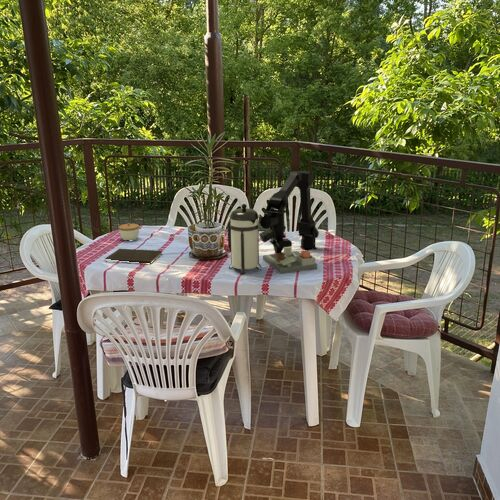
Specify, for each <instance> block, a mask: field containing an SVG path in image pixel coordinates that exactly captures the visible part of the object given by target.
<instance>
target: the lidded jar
mask: <svg viewBox="0 0 500 500" xmlns="http://www.w3.org/2000/svg"><path fill="white" fill-rule="evenodd" d="M118 231H119V236H120V238H121V239H122V240H123V241H124V240H134V241H136V240H135V239H137V238H138V237H139V235H140V234H139V233H140V225H139V224H137V223H130V222H127V223H125V224H120V225H119V226H118Z"/></svg>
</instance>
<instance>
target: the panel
mask: <svg viewBox="0 0 500 500" xmlns="http://www.w3.org/2000/svg"><path fill="white" fill-rule="evenodd" d="M282 252H283V253H284V251H282ZM291 256H292V257H293V258H295V261H294V262H291V263H289V264H286V265H284V266H283V265H282V264H281V263H280V262H277V261H276V253H275V252H274V253H269V254H268V253H267V254H264V255H262V260H263V261H264V262H265V263H266V264H268V265H269V266H270V267H271V268H272V269H274V270H275V271H276V272H278V274H280V275H281V274H287V273H294V272H300V271H307V270H315V269H318V264H317V263H316V257H315V256H314V255H311V254H310V258H307V259H302V258H301V252H300V251H298V250H296V251H295V250H294V251H292V255H290V256H286V255H284V259H286V258H289V257H291Z"/></svg>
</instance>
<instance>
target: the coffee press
mask: <svg viewBox="0 0 500 500" xmlns="http://www.w3.org/2000/svg"><path fill="white" fill-rule="evenodd" d="M259 218H260V215H259V213H258V212H257V210H255V209H253V208H247V204H245V203H242V204H241V207H240V208H236V209H234V210H233V211H231V213H230V214H229V219H230V220H229V222H228V224H227V246H228V250H229V251H230V252H229V253H230V264H229V266H228V269H229V270H232V269H233V268H235V269H237V270H240V274H241V275H245V271H247V270H253V269H255V268H256V269H257V270H258V271H261V270H262V269H263V268H262V265H261V264H260V240H259V239H260V236H259V234H260V232H259V226H260V222H259ZM231 265H232V267H231ZM258 266H259V267H258Z"/></svg>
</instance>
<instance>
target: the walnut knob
mask: <svg viewBox="0 0 500 500" xmlns="http://www.w3.org/2000/svg"><path fill="white" fill-rule="evenodd" d="M283 252H284V251H282V252H280V253H276V261H277V262H280V261H282V260H284V253H283Z"/></svg>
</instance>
